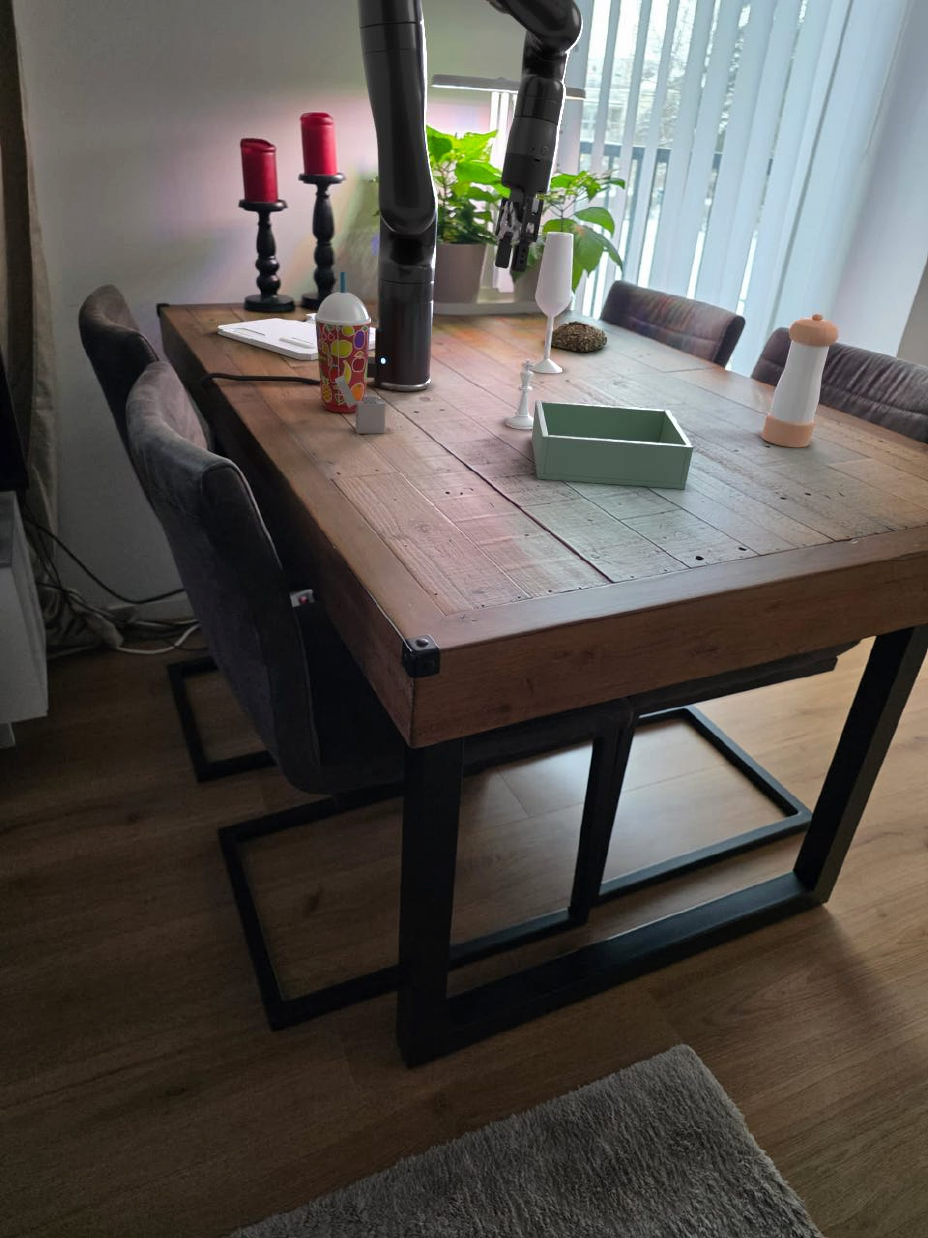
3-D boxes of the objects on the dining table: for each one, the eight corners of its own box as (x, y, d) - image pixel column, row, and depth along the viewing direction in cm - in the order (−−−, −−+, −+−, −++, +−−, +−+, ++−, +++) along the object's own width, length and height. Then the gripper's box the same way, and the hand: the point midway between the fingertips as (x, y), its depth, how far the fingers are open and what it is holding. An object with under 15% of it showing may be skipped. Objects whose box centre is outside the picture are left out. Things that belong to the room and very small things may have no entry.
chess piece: (535, 431, 130) (542, 364, 125) (503, 427, 131) (509, 361, 126) (539, 422, 134) (546, 357, 129) (508, 418, 135) (514, 353, 130)
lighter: (383, 429, 126) (384, 374, 122) (385, 433, 125) (386, 378, 121) (335, 429, 124) (334, 374, 120) (336, 433, 123) (336, 378, 119)
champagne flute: (523, 369, 163) (536, 232, 151) (533, 362, 168) (547, 230, 156) (556, 375, 161) (573, 237, 149) (566, 367, 166) (583, 234, 154)
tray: (213, 332, 172) (212, 324, 171) (318, 317, 191) (318, 310, 191) (304, 361, 157) (304, 352, 156) (409, 342, 176) (409, 334, 176)
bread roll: (613, 346, 187) (617, 322, 184) (589, 355, 177) (593, 330, 175) (561, 336, 192) (564, 313, 190) (535, 344, 183) (538, 320, 180)
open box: (537, 478, 112) (542, 436, 110) (531, 438, 127) (535, 400, 124) (684, 489, 113) (693, 447, 110) (662, 448, 127) (669, 410, 124)
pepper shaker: (785, 449, 131) (820, 319, 121) (751, 434, 136) (782, 309, 127) (818, 445, 134) (855, 318, 124) (784, 430, 139) (816, 308, 130)
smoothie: (318, 399, 137) (315, 266, 127) (370, 401, 138) (371, 269, 128) (314, 414, 130) (311, 274, 120) (369, 416, 131) (371, 278, 121)
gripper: (493, 152, 134) (474, 262, 141) (521, 147, 122) (499, 268, 128) (537, 163, 137) (517, 270, 143) (569, 158, 124) (545, 277, 130)
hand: (509, 269), depth 135 cm, fingers open, 8 cm apart
